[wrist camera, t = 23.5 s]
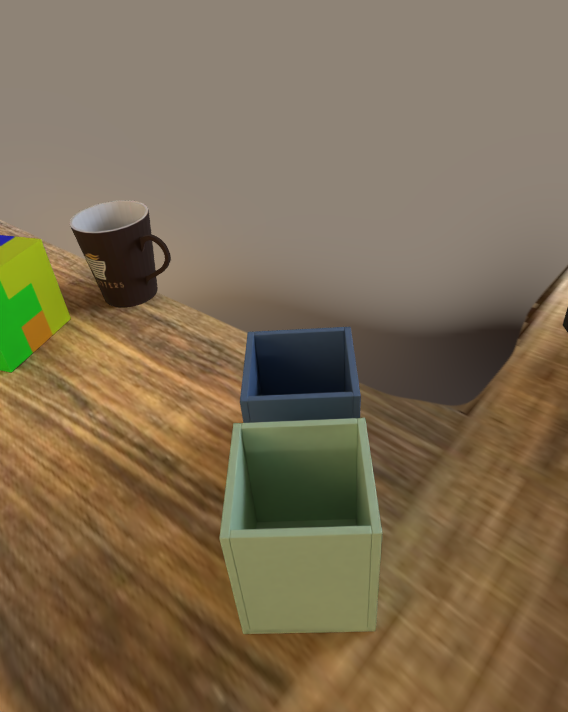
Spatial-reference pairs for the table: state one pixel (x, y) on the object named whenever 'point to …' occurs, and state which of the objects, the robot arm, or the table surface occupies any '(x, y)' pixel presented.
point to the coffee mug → (120, 250)
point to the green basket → (302, 527)
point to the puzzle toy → (27, 300)
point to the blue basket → (300, 376)
